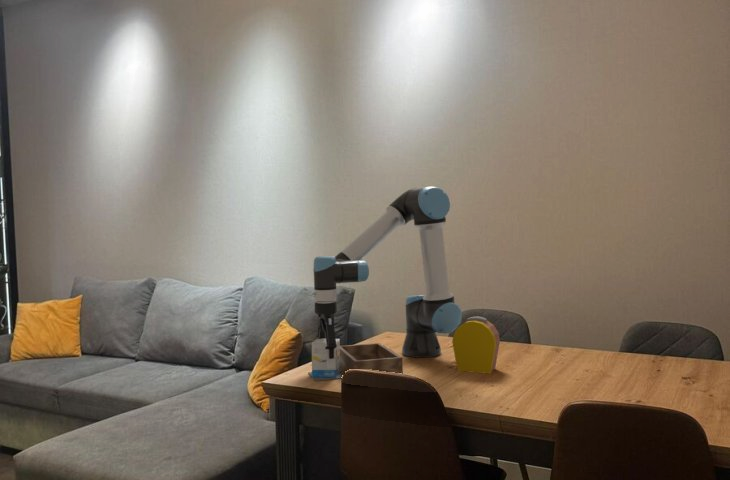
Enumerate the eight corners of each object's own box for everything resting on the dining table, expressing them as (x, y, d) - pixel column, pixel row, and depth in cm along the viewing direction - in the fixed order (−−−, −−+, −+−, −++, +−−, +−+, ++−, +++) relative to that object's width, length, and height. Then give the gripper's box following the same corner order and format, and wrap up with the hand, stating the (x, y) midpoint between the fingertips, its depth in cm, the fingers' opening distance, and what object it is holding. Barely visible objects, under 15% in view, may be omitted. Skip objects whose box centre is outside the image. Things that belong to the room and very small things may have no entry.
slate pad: (339, 370, 227) (339, 369, 227) (346, 378, 216) (346, 377, 216) (308, 373, 224) (308, 372, 224) (314, 381, 213) (314, 379, 213)
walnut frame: (380, 361, 240) (379, 342, 240) (402, 378, 214) (402, 357, 214) (337, 365, 236) (336, 346, 235) (355, 382, 210) (354, 361, 210)
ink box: (336, 377, 216) (335, 343, 215) (311, 377, 217) (310, 342, 216) (341, 371, 224) (340, 338, 224) (317, 371, 225) (316, 337, 225)
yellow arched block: (500, 368, 226) (500, 316, 225) (495, 374, 218) (494, 320, 217) (459, 365, 232) (458, 314, 231) (452, 370, 224) (451, 318, 224)
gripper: (308, 297, 230) (309, 356, 231) (322, 307, 206) (323, 372, 207) (328, 296, 232) (329, 355, 233) (344, 305, 208) (346, 370, 209)
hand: (326, 363), depth 220 cm, fingers open, 13 cm apart
